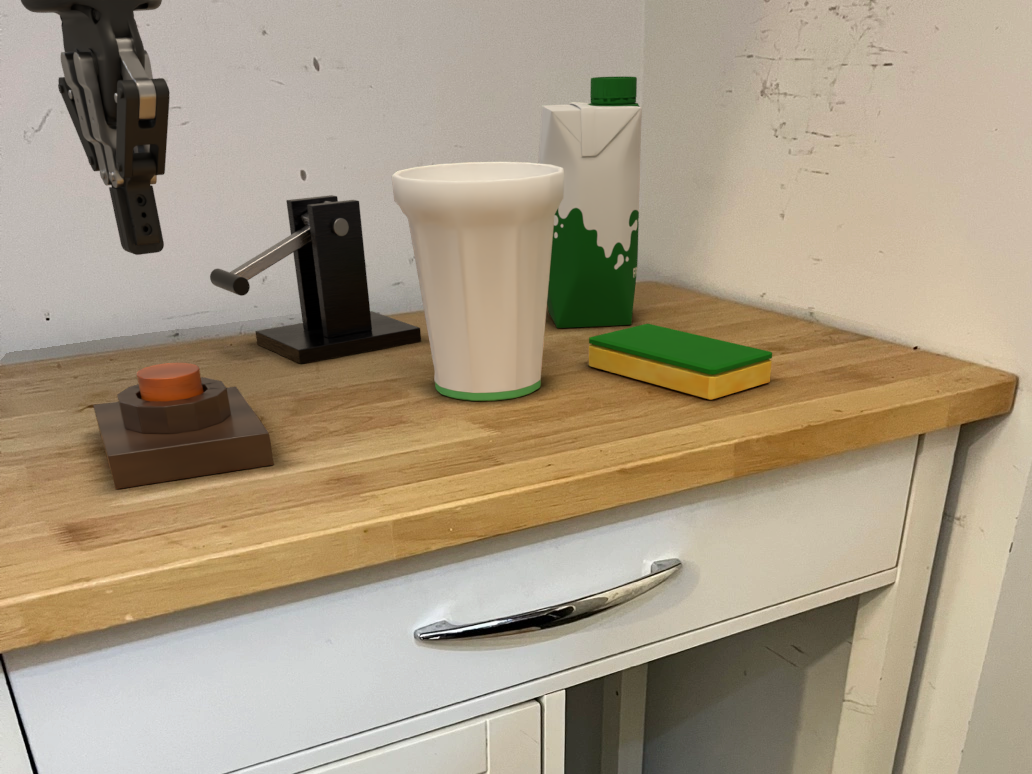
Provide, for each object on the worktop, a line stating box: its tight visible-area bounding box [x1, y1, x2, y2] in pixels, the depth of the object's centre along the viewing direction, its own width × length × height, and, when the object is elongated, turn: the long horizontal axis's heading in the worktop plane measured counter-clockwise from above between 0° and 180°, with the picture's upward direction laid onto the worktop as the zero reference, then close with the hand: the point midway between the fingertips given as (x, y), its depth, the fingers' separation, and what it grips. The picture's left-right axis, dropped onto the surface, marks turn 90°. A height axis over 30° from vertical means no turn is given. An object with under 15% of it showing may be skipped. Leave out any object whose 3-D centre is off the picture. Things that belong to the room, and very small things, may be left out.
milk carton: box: [537, 76, 643, 329], centre depth 100 cm, size 9×9×20 cm
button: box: [136, 362, 204, 401], centre depth 72 cm, size 4×4×2 cm
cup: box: [391, 161, 564, 402], centre depth 82 cm, size 12×12×15 cm
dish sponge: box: [588, 323, 773, 401], centre depth 87 cm, size 7×14×2 cm, turn 40°
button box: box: [93, 376, 275, 490], centre depth 74 cm, size 12×10×4 cm
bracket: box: [254, 194, 422, 365], centre depth 96 cm, size 12×9×12 cm
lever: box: [209, 201, 329, 297], centre depth 92 cm, size 12×5×2 cm, turn 127°
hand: (144, 251), depth 68 cm, fingers closed
